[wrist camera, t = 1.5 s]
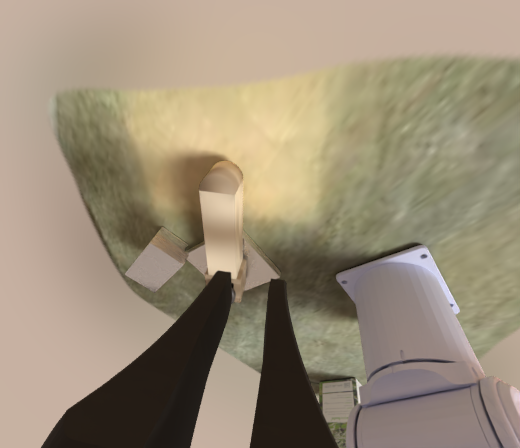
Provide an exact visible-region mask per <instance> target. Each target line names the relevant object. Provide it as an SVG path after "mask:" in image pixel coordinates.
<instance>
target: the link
mask: <svg viewBox="0 0 520 448" xmlns="http://www.w3.org/2000/svg"><path fill="white" fill-rule="evenodd" d="M199 194H200V203H201V212H202V221H203V230H204V239H205V248H206V257H207V266H208V268H207V270H206V272H205V281H206V285H207V284H208V283H209V281H210V280H211V279H212V277H213V276H214V274H215V273H216V272H217V271H218V270H219V271H225V272H231V283H233V285H232V288H233V289H234V291H235V292H236V297H235V301H234V302H239V303H240V302H241V299H242V295H243V291H244V288H245V284H246V260H245V259H243V174H242V172H241V170H240V168H239V167H238V166H237V165H235V164H234V163H232V162H229V161H220V162H217V163H216V164H215V165H214V166H213V167H212V168H211V170H210V171H209V172H208V173H207V175H206V176H205V177H204V179H203V180H202V181H201V183H200V185H199Z"/></svg>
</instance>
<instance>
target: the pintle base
mask: <svg viewBox="0 0 520 448" xmlns="http://www.w3.org/2000/svg"><path fill="white" fill-rule="evenodd" d="M186 253H188V254H189V256H188V258H187V260H188V261H189V262H190V263H191V264H192V265H193V266H195V267H196V268H197V269H198V270H199V271H200V272H201V273H202V274H203V275H204V276H205V272H206V270H207V268H208V266H207V257H206V248H205V241H203V242H201V243H199V244H198V245H196V246H194V247H192V248H190V249H189V250H187V251H186ZM243 259H245V260H246V284H245V288H244V291H246V290H249V289H251V288H254V287H256V286H259V285H262V284H264V283H267V282H270V281H271V278H272V279H277V278H280V274H281V271H280V270H279V269H278V268H277V267H276V266H275V265H274V263H273V262H272V261H271V260H270V259H269V258H268V257H267V256H266V255H265V254H264V252H263V251H262V250H261V249H260V248H259V247H258V246H257V245H256V244H255V242H254V241H253V240H252V239H251V238H250V237H249V236H248V235H247V234H246V233H245V231H244V230H243ZM232 285H233V283H232ZM235 297H236V292H235V291H234V289H233V288H232V303H233V302H234V301H235ZM232 303H231V304H232Z"/></svg>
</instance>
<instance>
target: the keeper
mask: <svg viewBox="0 0 520 448" xmlns="http://www.w3.org/2000/svg"><path fill="white" fill-rule="evenodd" d="M187 245H188V244H187V243H186V242H184V241H183V240H181V239H180V238H178V237H177V236H175V235H174V234H173V233H171V232H170V231H168V230H167V229H165V228H164V227H163V226H162V228H161V229H160V230H159V231H158V232H157V234H156V235H155V236H154V237H153V239H152V240H151V241H150V243H149V244H148V245H147V246H146V248H145V249H144V250H143V251H142V253H141V254H140V255H139V256H138V258H137V259H136V260H135V262H134V263H133V264H132V265H131V267H130V268H129V269H128V270H127V272H126V273H125V275H126V276H128V277H130V278H131V279H133V280H135V281H136V282H138V283H139V284H141V285H143V286H144V287H146V288H148V289H149V290H151V291H153V292H154V293H155V292H156V291H157V290H158V289H159V288H160V287H161V286H162V285H163V284H164V283H165V282H166V281H167V280H168V279H169V278H171V277H172V276H173V275H174V274H175V273H176V272H177V271H178V270H179V269H180V268H181V267H182V266H183V265H184V263H185V262H186V260H187V258H188V256H189V254H188V253H186V252H185V251H184V250H185V248H186V247H187Z"/></svg>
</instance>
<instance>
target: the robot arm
mask: <svg viewBox="0 0 520 448" xmlns="http://www.w3.org/2000/svg"><path fill="white" fill-rule="evenodd" d="M423 254H425V255H423ZM421 255H423V256H421ZM336 280H337V281H338V282H339V284H340V285H341V286H342V287H343V289H344V290H345V291H346V293H347V294H348V295H349V296H350V298H351V299H352V300H353V301H354V303H355V304H356V310H357V316H358V323H359V330H360V336H361V343H362V350H363V357H364V363H365V370H366V377H367V384H365V385H363V386H360V387H359V394H360V402H361V403H360V404H357V405H356V406H354V407H353V409H352V410H351V412H350V414H349V417H348V421H347V428H346V448H520V391H518V390H517V389H516V388H515V387H513V386H511V385H509V384H507V383H505V382H503V381H502V380H500V379H499V378H497V377H494V376H490V377H486V376H485V374H484V372H483V370H482V368H481V366H480V364H479V362H478V360H477V358H476V356H475V354H474V352H473V350H472V348H471V346H470V344H469V342H468V340H467V338H466V336H465V334H464V332H463V330H462V328H461V326H460V324H459V322H458V319H457V317H456V315H455V314H457V313H459V311H460V310H459V308H458V306H457V304H456V302H455V300H454V298H453V296H452V294H451V293H450V291H449V289H448V287H447V285H446V283H445V281H444V279H443V277H442V275H441V273H440V272H439V270H438V268H437V266H436V264H435V262H434V260H433V258H432V256H431V254H430V252H429V251H428V249H427V247H426V246H424V245H419V246H416V247H413V248H410V249H407V250H404V251H401V252H398V253H396V254H393V255H390V256H387V257H384V258H381V259H378V260H375V261H372V262H369V263H367V264H364V265H361V266H358V267H355V268H352V269H349V270H346V271H343V272H340V273H338V274H337V275H336ZM344 280H345V281H344ZM231 303H232V283H231V272H225V271H219V270H218V271H217V272H216V273H215V274H214V276H213V277H212V279H211V280H210V281H209V283H208V284H207V285H206V287H205V288H204V289H203V291H202V292H201V293H200V295H199V296H198V297H197V298H196V299H195V301H194V302H193V303H192V304H191V305H190V307H189V308H188V309H187V310H186V311H185V312H184V313H183V314H182V315H181V317H180V318H179V319H178V320H177V321H176V322H175V323H174V324H173V325H172V326H171V327H170V328H169V329H168V331H166V332H165V333H164V334H163V335H162V336H161V337H160V338H159V339H158V340H157V341H156V342H155V343H154V344H153V345H152V346H150V348H148V349H147V350H146V351H145V352H144V353H142V354H141V355H140V356H139V357H138V358H137V359H136V360H134V361H133V362H132V363H131V364H129V365H128V366H127V367H126V368H124V369H123V370H122V371H121V372H119V373H118V374H117V375H115V376H114V377H113V378H111V379H110V380H109V381H108V382H106V383H105V384H103V385H102V386H101V387H100V388H98V389H97V390H95V391H94V392H92V393H91V394H89V395H88V396H87V397H85V398H84V399H82V400H81V401H79V402H78V403H76V404H75V405H73V406H72V407H71V408H69V409H68V410H67V411H66V412H65V414H64V415H63V416H62V418H61V419H60V420H59V421H58V423H57V424H56V426H55V427H54V428H53V430H52V431H51V433H50V434H49V436H48V437H47V439H46V441H45V442H44V444H43V445H42V447H41V448H190V446H191V442H192V437H193V433H194V429H195V425H196V421H197V417H198V413H199V409H200V405H201V401H202V397H203V393H204V389H205V385H206V381H207V377H208V374H209V371H210V368H211V365H212V362H213V360H214V356H215V354H216V351H217V348H218V345H219V343H220V340H221V337H222V334H223V331H224V328H225V326H226V323H227V319H228V315H229V311H230V307H231ZM250 448H339V447H338V445H337V443H336V441H335V439H334V437H333V435H332V432H331V430H330V428H329V426H328V424H327V422H326V419H325V417H324V415H323V412H322V410H321V408H320V405H319V403H318V401H317V398H316V396H315V394H314V391H313V389H312V386H311V383H310V381H309V378H308V376H307V373H306V370H305V367H304V364H303V361H302V358H301V355H300V352H299V349H298V345H297V342H296V338H295V335H294V331H293V326H292V322H291V318H290V313H289V307H288V301H287V291H286V282H285V281H284V280H278V279H272V278H271V281H270V286H269V292H268V301H267V312H266V322H265V335H264V351H263V365H262V372H261V378H260V385H259V392H258V399H257V405H256V411H255V418H254V424H253V431H252V437H251V443H250Z"/></svg>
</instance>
